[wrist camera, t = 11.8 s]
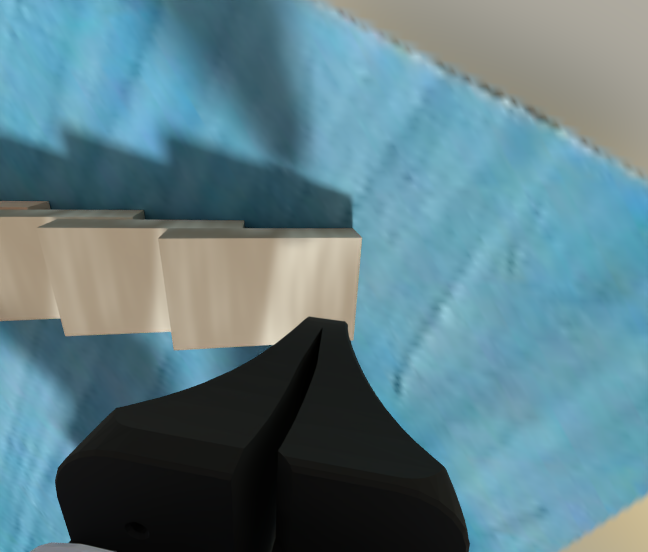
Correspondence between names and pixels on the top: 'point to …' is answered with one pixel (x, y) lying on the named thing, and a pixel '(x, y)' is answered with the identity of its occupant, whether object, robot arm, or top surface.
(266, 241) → the domino
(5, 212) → the domino
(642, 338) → the top surface
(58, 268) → the domino
